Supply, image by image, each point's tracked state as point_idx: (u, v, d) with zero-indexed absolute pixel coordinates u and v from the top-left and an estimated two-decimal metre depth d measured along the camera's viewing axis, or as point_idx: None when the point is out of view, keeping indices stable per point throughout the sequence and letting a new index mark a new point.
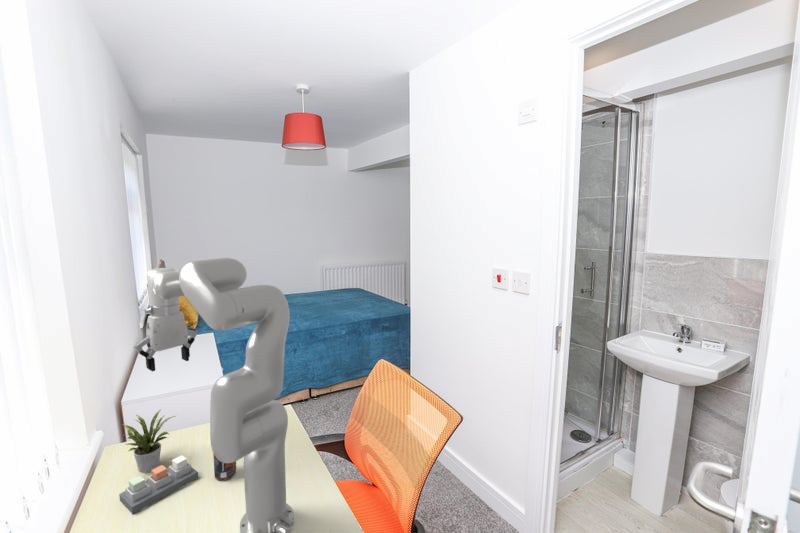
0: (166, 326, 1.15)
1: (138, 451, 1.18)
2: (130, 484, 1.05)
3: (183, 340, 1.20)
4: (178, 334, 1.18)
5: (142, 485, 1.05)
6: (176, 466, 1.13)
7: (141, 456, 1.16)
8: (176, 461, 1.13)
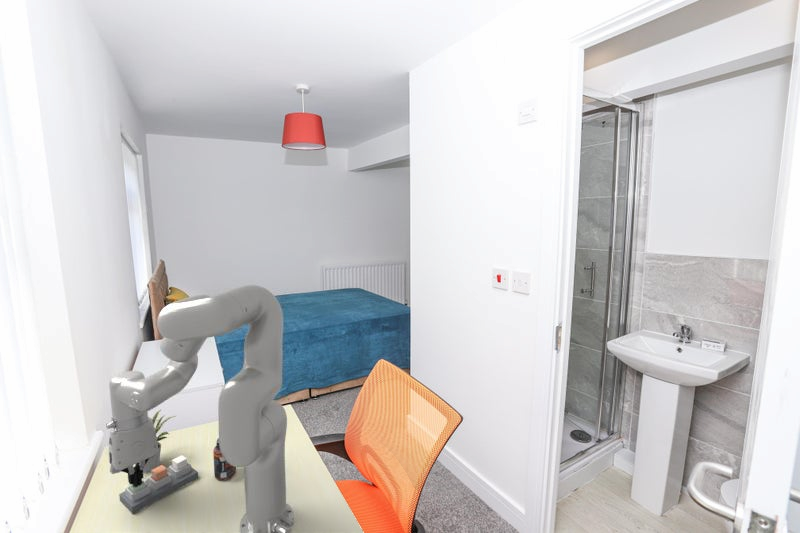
0: (131, 441, 1.01)
1: None
2: (130, 488, 1.05)
3: (152, 451, 1.05)
4: (146, 446, 1.04)
5: (142, 488, 1.05)
6: (176, 466, 1.13)
7: None
8: (176, 461, 1.13)
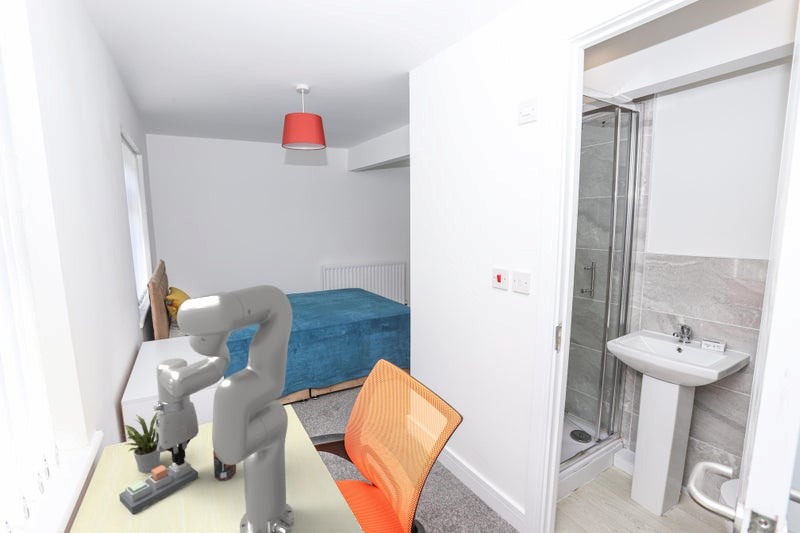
0: (176, 422, 1.10)
1: (138, 451, 1.18)
2: (131, 489, 1.05)
3: (193, 433, 1.14)
4: (188, 427, 1.13)
5: None
6: (176, 470, 1.13)
7: (141, 456, 1.16)
8: (176, 464, 1.14)
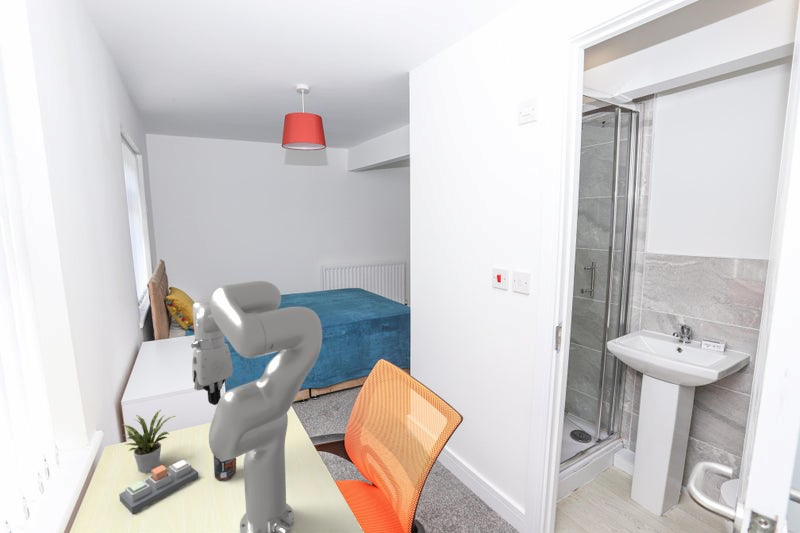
0: (213, 360, 1.12)
1: (138, 451, 1.18)
2: (131, 489, 1.05)
3: (228, 373, 1.16)
4: (224, 367, 1.15)
5: None
6: None
7: (141, 456, 1.16)
8: (176, 465, 1.14)
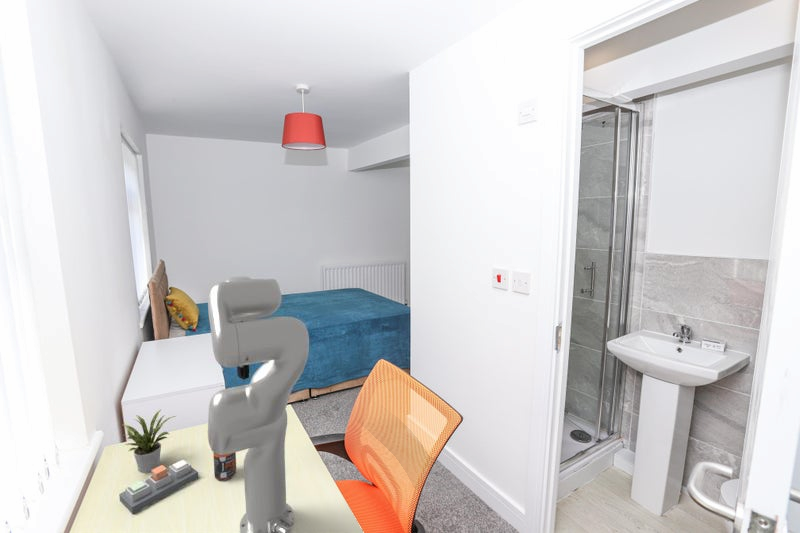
0: None
1: (138, 451, 1.18)
2: (131, 489, 1.05)
3: None
4: None
5: None
6: None
7: (141, 456, 1.16)
8: (176, 465, 1.14)
